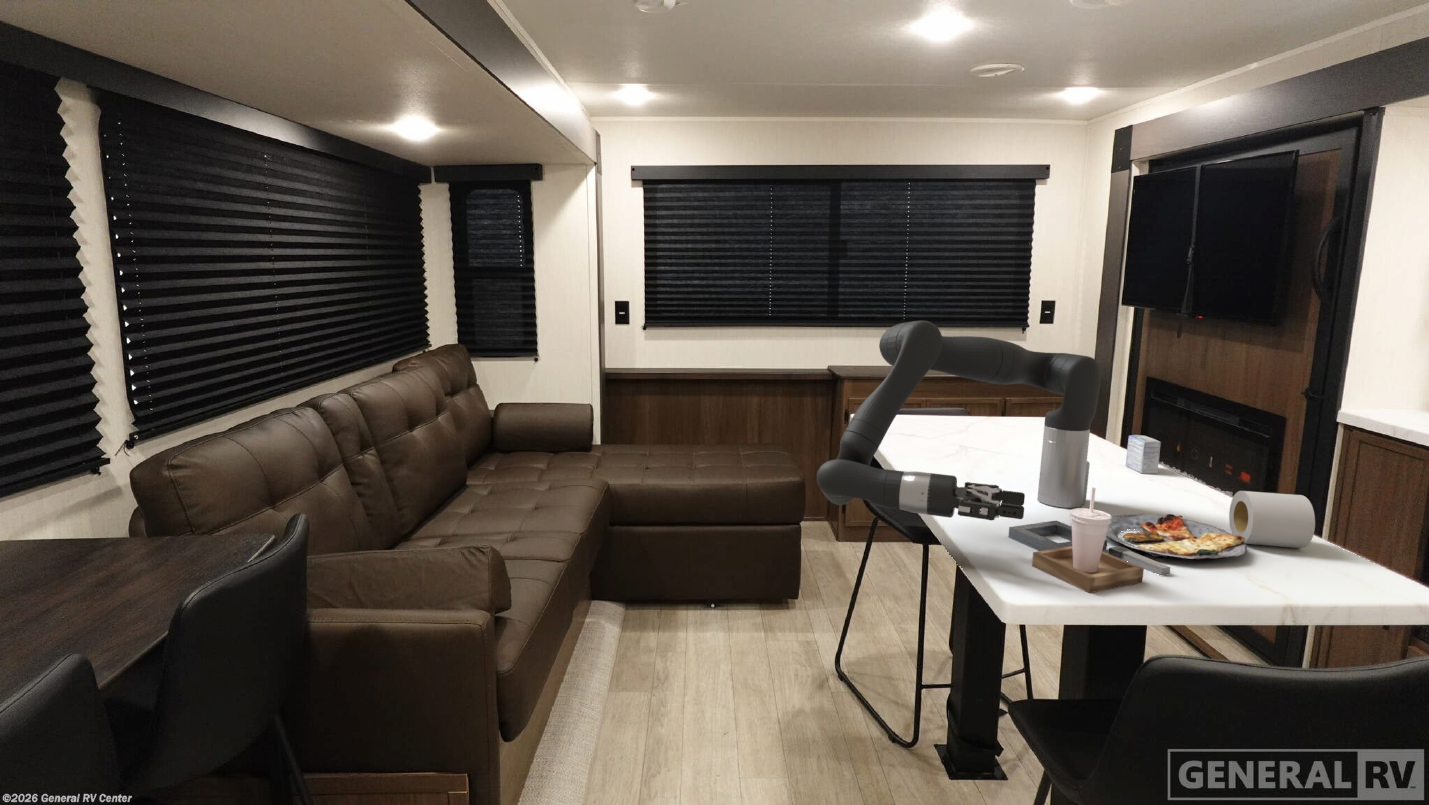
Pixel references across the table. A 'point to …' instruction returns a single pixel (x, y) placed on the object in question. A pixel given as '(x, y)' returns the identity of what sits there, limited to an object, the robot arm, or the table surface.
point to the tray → (1106, 576)
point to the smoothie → (1088, 536)
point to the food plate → (1175, 537)
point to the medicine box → (1143, 454)
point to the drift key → (1139, 560)
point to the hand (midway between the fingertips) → (1024, 505)
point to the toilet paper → (1272, 519)
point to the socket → (1034, 533)
